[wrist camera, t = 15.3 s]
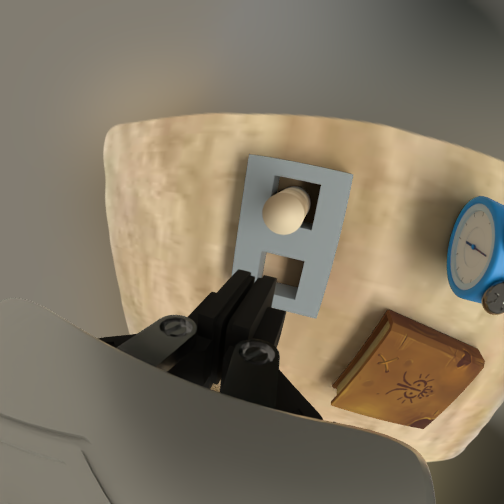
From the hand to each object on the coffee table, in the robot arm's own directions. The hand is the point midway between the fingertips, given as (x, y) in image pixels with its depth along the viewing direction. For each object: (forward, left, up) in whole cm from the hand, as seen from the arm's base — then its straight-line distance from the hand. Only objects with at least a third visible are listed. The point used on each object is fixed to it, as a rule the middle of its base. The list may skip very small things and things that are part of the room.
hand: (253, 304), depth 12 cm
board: (-3, +3, -27) cm, 28 cm away
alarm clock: (-11, -23, -28) cm, 37 cm away
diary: (-33, -11, -28) cm, 44 cm away
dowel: (+2, +1, -27) cm, 27 cm away
